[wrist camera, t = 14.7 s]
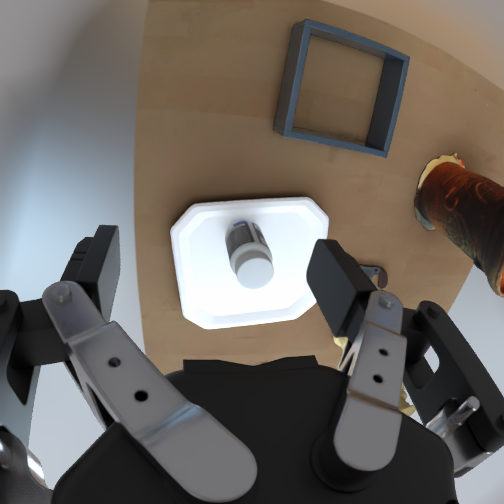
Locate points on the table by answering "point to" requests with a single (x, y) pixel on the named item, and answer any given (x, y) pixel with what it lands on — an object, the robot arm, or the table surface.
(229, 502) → the robot arm
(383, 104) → the square frame
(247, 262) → the pill bottle
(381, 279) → the knife
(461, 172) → the vessel
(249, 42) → the table surface
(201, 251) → the plate
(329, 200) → the table surface
